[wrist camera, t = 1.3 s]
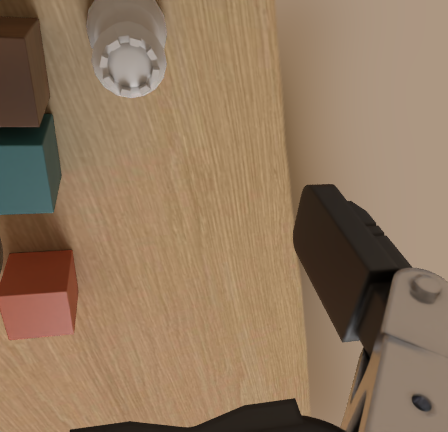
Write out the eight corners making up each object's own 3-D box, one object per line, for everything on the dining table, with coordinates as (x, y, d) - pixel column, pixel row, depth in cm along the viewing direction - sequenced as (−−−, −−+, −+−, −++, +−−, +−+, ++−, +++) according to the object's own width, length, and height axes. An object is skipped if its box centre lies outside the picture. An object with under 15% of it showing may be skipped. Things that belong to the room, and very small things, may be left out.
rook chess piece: (72, 0, 23) (54, 34, 17) (148, -29, 23) (159, -5, 17) (108, 77, 26) (104, 131, 20) (177, 51, 26) (195, 98, 20)
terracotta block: (9, 253, 32) (-5, 296, 28) (72, 249, 33) (66, 291, 29) (20, 295, 35) (8, 340, 31) (78, 291, 36) (74, 334, 32)
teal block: (-27, 112, 26) (-50, 145, 22) (52, 113, 27) (42, 145, 23) (-10, 177, 28) (-29, 216, 25) (61, 176, 29) (54, 213, 26)
